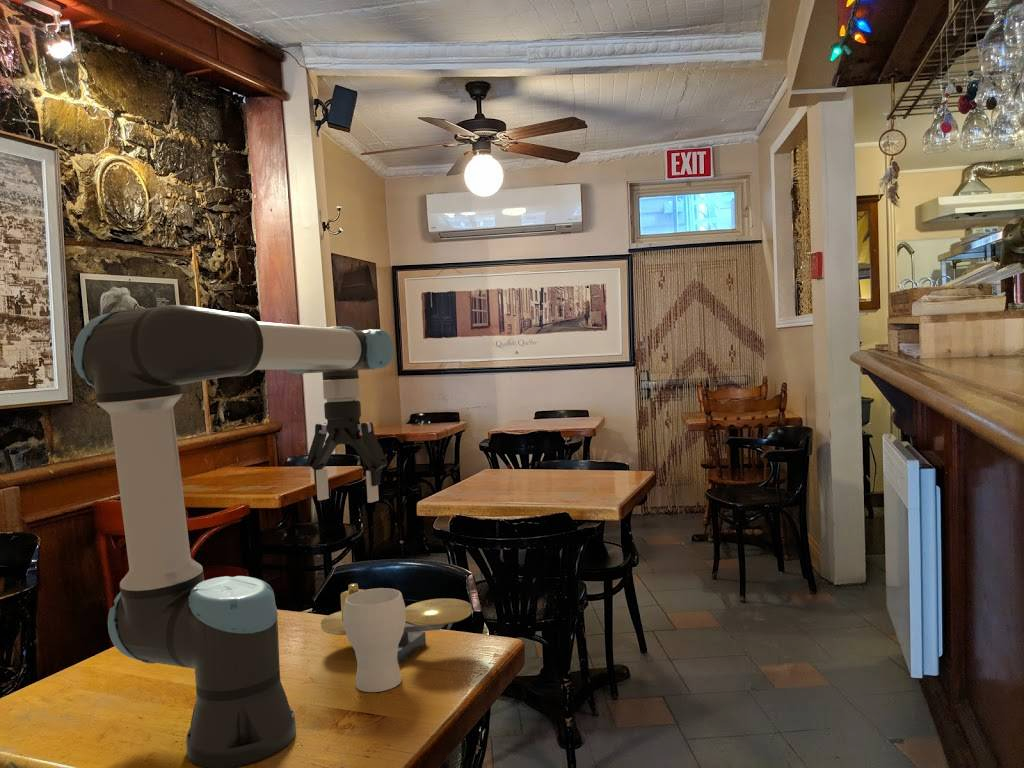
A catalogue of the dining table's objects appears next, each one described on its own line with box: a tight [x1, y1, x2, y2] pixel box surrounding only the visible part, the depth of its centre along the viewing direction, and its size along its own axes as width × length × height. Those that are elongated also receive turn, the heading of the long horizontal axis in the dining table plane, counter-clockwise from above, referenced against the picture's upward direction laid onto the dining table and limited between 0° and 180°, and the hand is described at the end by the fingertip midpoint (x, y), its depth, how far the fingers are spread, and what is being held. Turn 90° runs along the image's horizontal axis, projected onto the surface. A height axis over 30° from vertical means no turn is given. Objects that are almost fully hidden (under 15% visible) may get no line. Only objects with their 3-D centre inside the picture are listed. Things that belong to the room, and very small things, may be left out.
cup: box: [343, 587, 406, 693], centre depth 126 cm, size 11×11×15 cm
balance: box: [320, 583, 473, 665], centre depth 140 cm, size 13×31×12 cm, turn 69°
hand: (347, 500), depth 156 cm, fingers open, 13 cm apart
